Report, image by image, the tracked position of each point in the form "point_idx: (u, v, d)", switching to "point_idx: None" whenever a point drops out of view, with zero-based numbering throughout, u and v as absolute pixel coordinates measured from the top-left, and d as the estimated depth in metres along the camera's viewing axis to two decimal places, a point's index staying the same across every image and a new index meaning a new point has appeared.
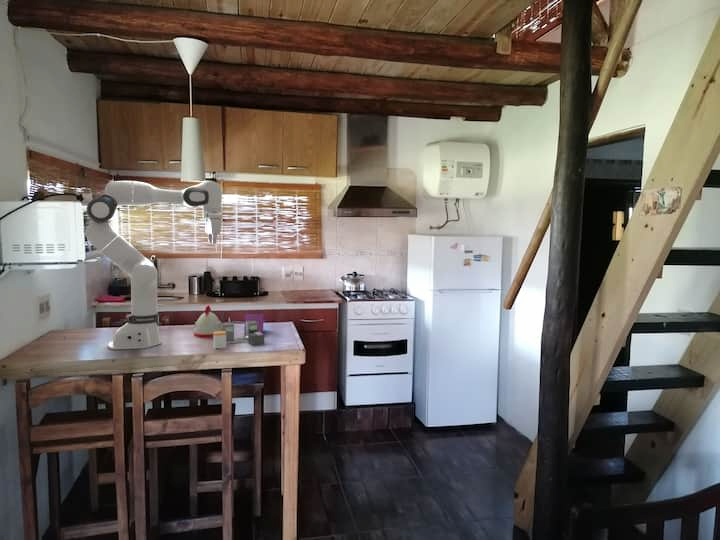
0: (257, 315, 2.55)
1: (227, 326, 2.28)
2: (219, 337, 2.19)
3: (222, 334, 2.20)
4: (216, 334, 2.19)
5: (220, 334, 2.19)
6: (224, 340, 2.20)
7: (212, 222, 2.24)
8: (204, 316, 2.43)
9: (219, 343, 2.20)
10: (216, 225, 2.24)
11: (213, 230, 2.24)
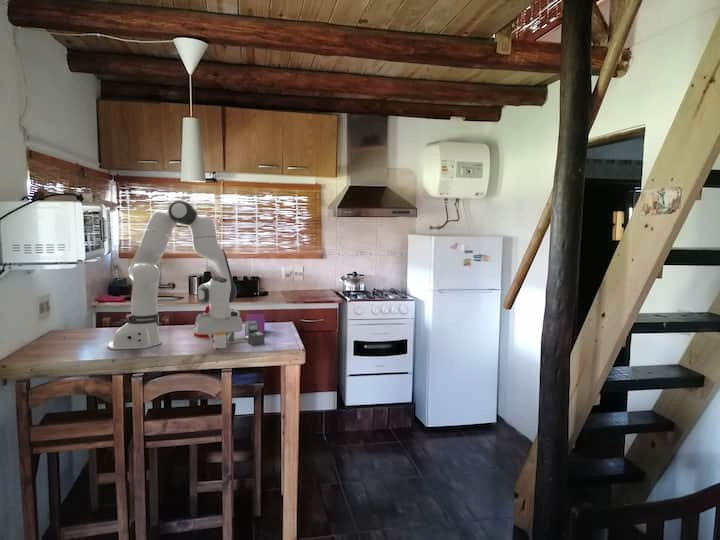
0: (258, 315, 2.55)
1: None
2: (219, 337, 2.19)
3: (222, 334, 2.20)
4: (216, 334, 2.19)
5: (220, 334, 2.19)
6: (224, 340, 2.20)
7: (241, 320, 2.23)
8: None
9: (219, 343, 2.20)
10: None
11: None
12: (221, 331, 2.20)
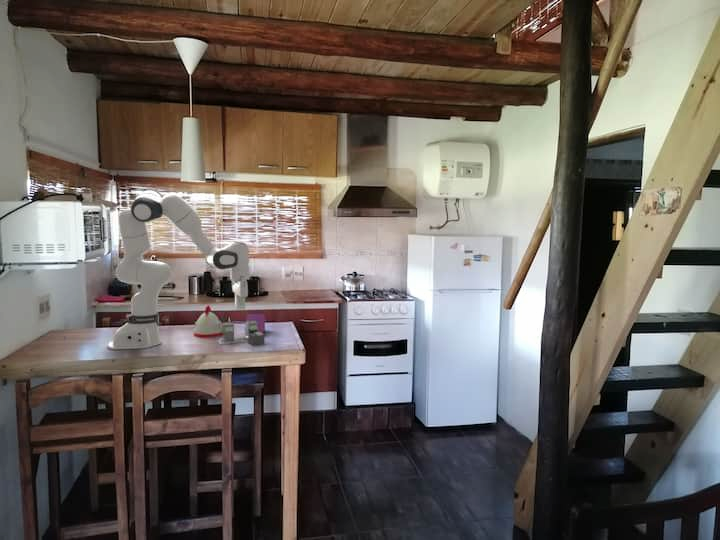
0: (258, 315, 2.55)
1: (227, 326, 2.28)
2: None
3: None
4: None
5: None
6: None
7: None
8: (204, 316, 2.43)
9: None
10: None
11: None
12: None
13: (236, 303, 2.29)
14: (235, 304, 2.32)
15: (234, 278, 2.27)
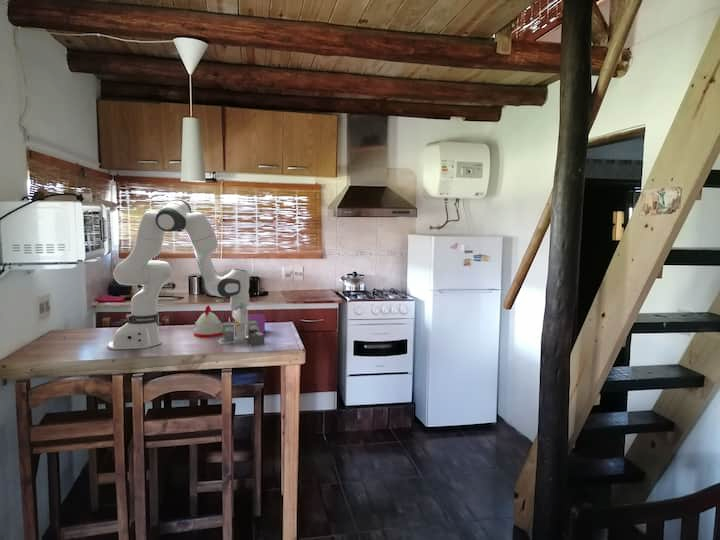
0: (258, 315, 2.55)
1: (227, 326, 2.28)
2: None
3: None
4: None
5: None
6: None
7: None
8: (204, 316, 2.43)
9: None
10: None
11: None
12: None
13: (236, 332, 2.31)
14: (235, 333, 2.33)
15: (234, 305, 2.28)
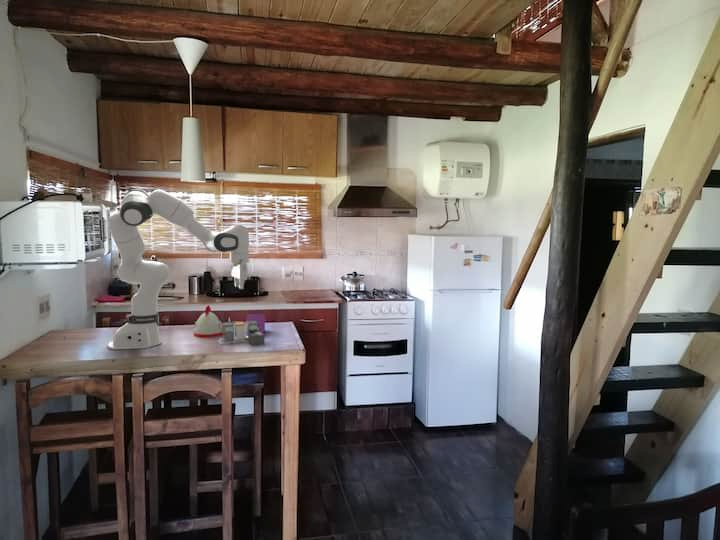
0: (258, 315, 2.55)
1: (227, 326, 2.28)
2: None
3: None
4: (244, 324, 2.33)
5: None
6: None
7: None
8: (204, 316, 2.43)
9: None
10: None
11: None
12: None
13: (236, 332, 2.31)
14: (235, 333, 2.33)
15: (234, 261, 2.26)
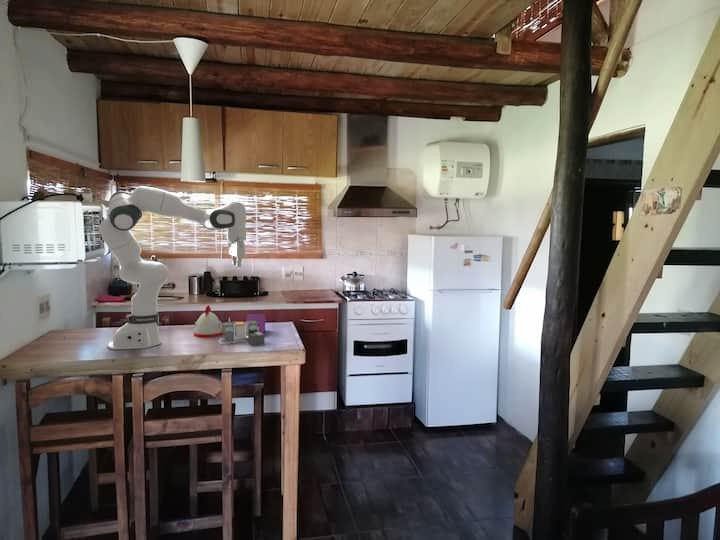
0: (259, 315, 2.55)
1: (227, 326, 2.28)
2: None
3: None
4: (244, 324, 2.33)
5: None
6: None
7: None
8: (204, 316, 2.43)
9: None
10: None
11: None
12: None
13: (236, 332, 2.31)
14: (235, 333, 2.33)
15: (231, 239, 2.23)
